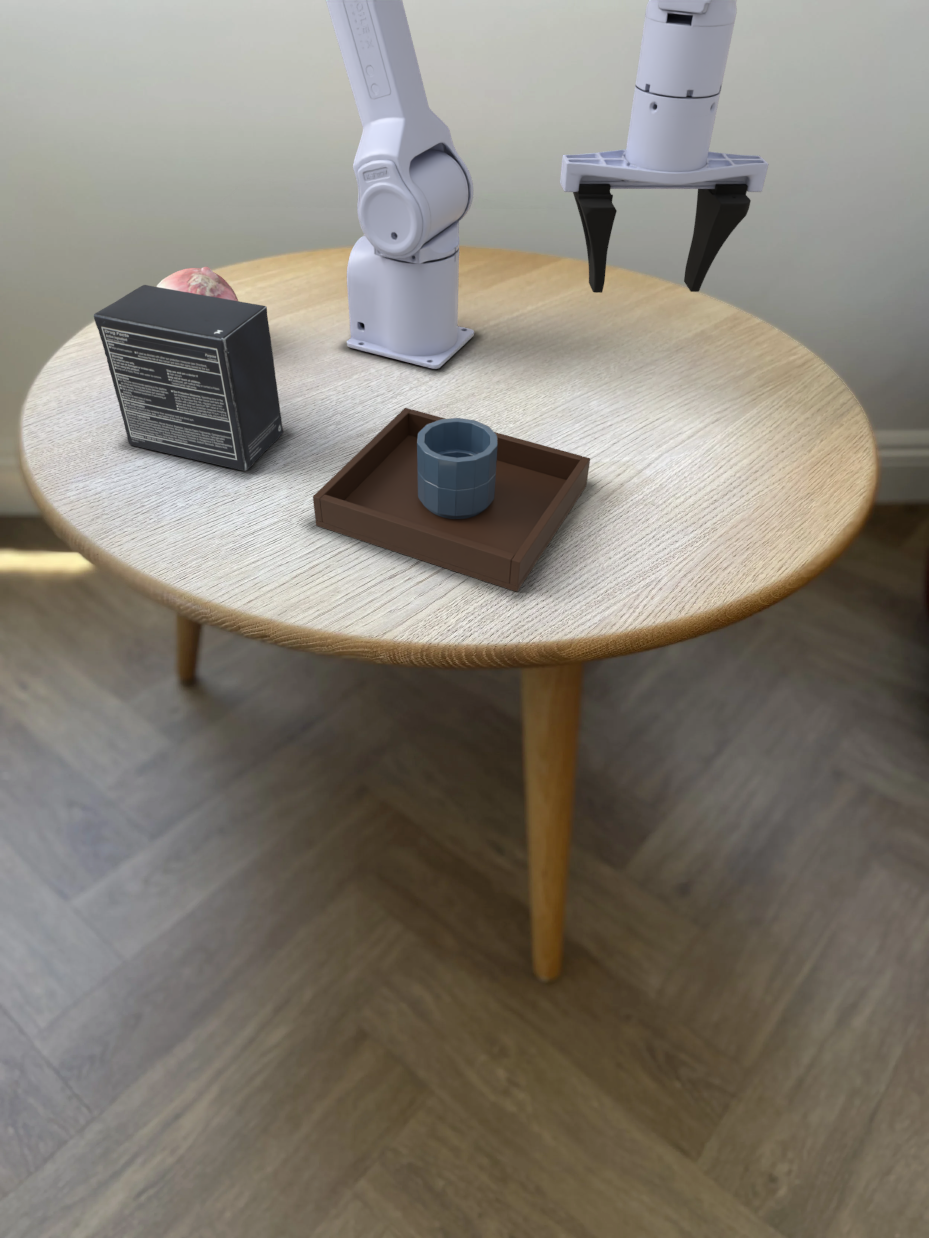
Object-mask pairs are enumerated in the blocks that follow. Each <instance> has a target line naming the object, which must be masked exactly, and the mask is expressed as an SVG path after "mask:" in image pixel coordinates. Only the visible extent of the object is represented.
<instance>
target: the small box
mask: <svg viewBox="0 0 929 1238" xmlns="http://www.w3.org/2000/svg"><path fill="white" fill-rule="evenodd" d="M93 319H94V323H95V325H96V328H97V330H98V334H99V338H100V341H101V344H102V347H103V351H104V355H105V357H106V362H107V365H108V370H109V372H110V376H111V380H112V384H113V388H114V391H115V396H116V398H117V402H118V406H119V411H120V415H121V417H122V421H123V425H124V429H125V434H126V436H127V443H128V445H130V446H134V447H138V448H142V449H146V450H149V451H150V450H151V451H155V452H160V453H164V454H168V455H172V456H178V457H181V458H184V459H190V460H195V461H199V462H204V463H208V464H213V465H217V466H221V467H225V468H230V469H234V470H239V471H244V472H245V471H248V470H249V469H250V468H251V467H252V466H253V465H254V463H256V462H257V461H258V459H259V458H260V457H261V456H262V455H263V454H264V453H265V452H267V450H268V449H269V448H270V447H271V446H272V445H273V444H274V443H276V442H277V440H278V439H279V438H281V435H282V434H283V433H284V427H283V420H282V413H281V406H280V399H279V390H278V384H277V376H276V369H275V362H274V355H273V346H272V338H271V333H270V325H269V318H268V307H267V306H266V305H262V304H257V303H250V302H246V301H245V302H244V301H240V300H238V301H234V300H228V299H223V298H217V297H211V296H205V295H199V294H194V293H189V292H182V291H177V290H171V289H166V288H160V287H157V286H154V285H148V284H143V285H141V286H139V287H137V288H136V289H135V288H134V290H132V291H130V292H129V293H127V294H125V295H124V296H122V297H120V298H119V299H117V300H116V301H115V302H113V303H111V304H109V305H107V306H105V307H104V308H101V309H100V310H99V311H97V312H95V313H94V314H93Z"/></svg>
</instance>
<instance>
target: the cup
mask: <svg viewBox="0 0 929 1238" xmlns="http://www.w3.org/2000/svg"><path fill="white" fill-rule="evenodd" d="M494 432H495V431H494V430H493V429H492V428H491V427H490V426H489V425H487V424H485V423H483V422H480V421H478V420H475V419H469V418H463V417H452V418H451V417H449V418H445V419H441V420H438V421H435V422H433V423H430V424H427V425H426V426H425V427H424V428H423V429H422V430H421V431H420V432H419V433H418V438H417V470H418V498H419V499H420V501H421V502H422V504H423V505H424V506H425V507H426V508H427V509H428V510H429V511H430V512H432V513H434V514H435V515H438V516H440V517H443V518H448V519H466V518H470V517H474V516H476V515H478V514H480V513H481V512H483V511H484V510H485V509H486V508H487V507H488V506H489V505H490V504H491V502H492V501H493V500H494V495H495V479H496V462H497V446H498V444H497V435H496V434H495V433H494Z"/></svg>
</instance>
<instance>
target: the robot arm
mask: <svg viewBox="0 0 929 1238" xmlns="http://www.w3.org/2000/svg"><path fill="white" fill-rule="evenodd" d="M737 2H738V0H648V1H647V3H646V6H645V12H644V20H643V28H642V34H641V42H640V48H639V55H638V63H637V64H638V65H637V69H636V70H637V71H636V77H635V85H634V90H633V99H632V104H631V111H630V118H629V125H628V133H627V139H626V147H625V148H624V149H615V150H606V151H599V152H590V153H589V152H588V153H578V154H563V155H562V157H561V168H560V177H559V184H560V187H561V188H562V190H563V192H564V193H572V194H573V198H574V200H575V204H576V207H577V210H578V214H579V217H580V221H581V226H582V230H583V234H584V240H585V246H586V252H587V261H588V264H587V265H588V284H589V287H590V289H591V291H592V292H593V293H595V294H596V293H599V294H601V293H603V290H604V285H605V283H606V281H605V280H606V272H607V271H606V269H607V257H608V250H609V246H610V239H611V236H612V230H613V226H614V222H615V219H616V214H617V213H618V210H617V208H616V207H615V205H614V203H613V198H614V194H612V192H611V190H697V195H696V208H695V217H694V224H693V225H694V227H693V232H692V237H691V238H692V239H691V242H690V247H689V252H688V255H687V258H686V259H687V260H686V264H685V270H684V278H683V282H684V284H685V285H686V287H687V289H688V290H689V292H690V293H698V292H700V290H701V288H702V285H703V283H704V280H705V278H706V276H707V274H708V272H709V270H710V268H711V266H712V264H713V263H714V260H715V259H716V257H717V255H718V253H719V252H720V250H721V248H722V247H723V245H725V242H726V241H727V240H728V238H729V237H730V235H731V234H732V233H733V231H734V230H735V229H736V228H737V226H738V225H740V223H741V222H742V221H743V220H744V219H745V217H746V216H747V215H748V212H749V209H750V207H751V201H752V200H751V198H749V196H748V195H747V192H748V193H762V192H763V189H764V186H765V185H764V184H765V180H766V177H767V173H768V168H769V163H768V161H766V160H765V159H764V158H763V157H762V156H761V155H759V154H757V155H756V154H753V155H751V154H737V153H727V152H718V151H710V146H711V141H712V137H713V132H714V126H715V121H716V118H717V117H716V116H717V111H718V106H719V101H720V96H721V91H722V86H723V82H724V76H725V72H726V67H727V62H728V57H729V52H730V47H731V42H732V38H733V32H734V27H735V22H736V17H737V13H738V12H737V11H738V9H737ZM325 3H326V7H327V10H328V13H329V16H330V20H331V23H332V27H333V31H334V33H335V38H336V41H337V45H338V49H339V51H340V55H341V59H342V61H343V64H344V69H345V72H346V75H347V79H348V82H349V86H350V88H351V92H352V96H353V99H354V103H355V106H356V109H357V114H358V116H359V119H360V123H361V127H362V133H361V135H360V136H361V137H360V139H359V143H358V146H357V149H356V152H355V155H354V159H353V164H352V170H353V173H354V176H355V179H356V184H357V193H358V194H357V195H358V196H357V204H356V205H357V206H356V210H357V212H356V213H357V218H358V222H359V226H360V228H361V231H362V234H363V235H362V236H360V237H359V238H358V239H357V240H356V242H355V243H354V245H353V247H352V249H351V250H350V254H349V257H348V261H347V268H346V288H347V304H348V305H347V306H348V316H349V317H348V319H349V333H350V334H349V335H350V338H349V339H347V340H346V347H348V348H351V349H353V350H358V351H361V352H366V353H370V354H374V355H378V356H381V357H385V358H388V359H389V358H390V359H393V360H398V361H400V362H405V363H408V364H409V363H410V364H412V365H417V366H420V367H423V368H428V369H433V370H437V369H438V370H439V369H440V368H442V366H443V365H445V363H446V362H448V361H449V360H450V359H451V358H452V357H453V356H454V355H455V354H456V353H457V352H458V351H459V350H460V349H461V348H463V346H465V345H466V344H467V343H468V342H469V341H470V340H471V339H472V338H473V337H474V336H475V330H474V329H472V328H468V327H464V326H460V325H459V286H460V285H459V283H460V281H459V280H460V279H459V278H460V221H461V220H463V219H464V218H465V217H466V216H467V214H468V212H469V211H470V209H471V206H472V203H473V199H474V183H473V179H472V175H471V172H470V170H469V168H468V165H466V163H465V162H464V160H463V159H462V157H461V156H460V155H459V153H458V150H456V146H455V145H454V142H453V138H452V134H451V129H450V128H449V126H448V125H447V124H446V123H445V122H444V120H442V119H441V118H440V117H439V116H438V115H437V114H436V113H435V112H434V111H433V110H432V109H431V108H430V106H429V102H428V97H427V94H426V90H425V85H424V82H423V78H422V77H423V76H422V74H421V70H420V66H419V63H418V61H419V60H418V58H417V53H416V50H415V45H414V42H413V38H412V37H413V36H412V33H411V30H410V26H409V22H408V17H407V14H406V10H405V6H404V5H405V4H404V2H403V0H325Z"/></svg>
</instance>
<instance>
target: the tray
mask: <svg viewBox="0 0 929 1238" xmlns="http://www.w3.org/2000/svg"><path fill="white" fill-rule="evenodd" d="M441 419H446V418H445V417H441V416H437V415H434V414H431V413H427V412H423V411H419V410H417V409H416V410H415V409H412V408H409V407H404V408H403V409H402V410H401V411H400V412H399V413H398V414H397V415H396V416H395V417H394V418H393V419H392V420H391V421H389V423H388V424H386V425H385V426H384V428H382V429H381V430H380V431H379V432H378V433H377V434H375V436H374V437H373V438H372V439H371V440H370V441H368V443H367V444H365V446H363V447H362V448H361V449H360V451H358V452H357V453H356V454H355V455H354V456H353V457H352V458H350V460H349V461H348V462H347V463H346V464H345V465H344V466H342V468H340V469H339V470H338V472H337V473H335V474H334V476H332V477H331V478H329V480H328V481H327V482H326V483H325V484H324V485H323V486H322V487H321V488H320V489H319V490H318V491H316V493H314V495H312V501H313V509H314V518H315V526H316V527H319V528H323V529H324V530H325V529H326V530H329V531H331V532H334V533H338V534H340V535H344V536H347V537H349V538H352V539H355V540H359V541H362V542H364V543H368V544H371V545H374V546H377V547H380V548H383V549H386V550H389V551H392V552H395V553H398V554H401V555H404V556H407V557H410V558H412V559H413V558H414V559H416V560H419V561H422V562H425V563H428V564H430V565H431V564H432V565H434V566H437V567H441V568H444V569H447V570H449V571H453V572H456V573H459V574H462V575H465V576H468V577H471V578H474V579H477V580H480V581H482V582H486V583H489V584H492V585H495V586H498V587H501V588H505V589H507V590H509V591H513V592H516V593H517V592H519V590H520V589H521V588H522V586H523V584H524V582H526V580H527V578H528V576H529V575H530V573H531V572H532V570H533V569H534V567H535V565H537V563H538V562H539V560H540V558H541V557H542V555H543V553H545V551H546V549H547V547H548V546H549V544H550V543H551V541H552V540H553V538H554V537H555V535H556V533H557V532H558V530H559V529H560V528H561V526H562V524H563V523H564V521H565V520H566V518H567V517H568V515H569V514H570V512H571V510H572V509H573V508H574V506H575V505H576V503H577V501H578V500H579V498H580V497H581V495H582V493H583V492H584V490H585V489H586V487H587V485H588V476H589V470H590V463H591V458H590V457H588V456H584V455H580V454H577V453H572V452H569V451H566V450H561V449H558V448H555V447H551V446H548V445H544V444H541V443H536V442H533V441H529V440H526V439H521V438H518V437H514V436H511V435H507V434H503V433H500V432H496V431H494V433H495V434H496V435H497V444H498V446H497V462H496V479H495V495H494V500H493V501H492V502H491V504H490V505H489V506H488V507H487V508H486V509H485V510H484V511H483V512H481V513H480V514H478V515H476V516H474V517H470V518H466V519H448V518H443V517H440V516H438V515H435V514H434V513H432V512H430V511H429V510H428V509H427V508H426V507H425V506H424V505H423V504H422V502H421V501H420V499H419V498H418V470H417V438H418V433H419V432H420V431H421V430H422V429H423V428H424V427H425V426H426V425H427V424H430V423H433V422H435V421H438V420H441Z"/></svg>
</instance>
